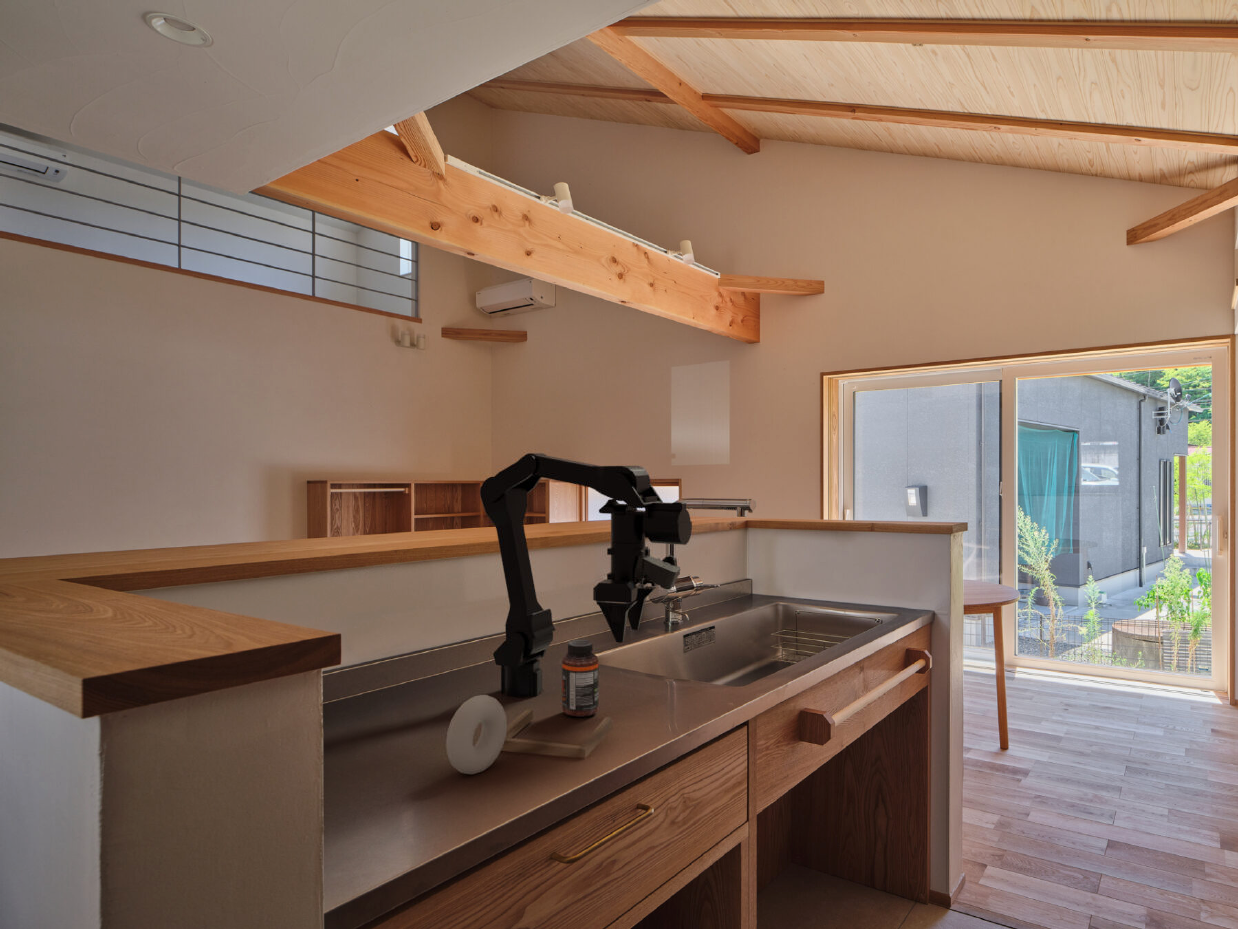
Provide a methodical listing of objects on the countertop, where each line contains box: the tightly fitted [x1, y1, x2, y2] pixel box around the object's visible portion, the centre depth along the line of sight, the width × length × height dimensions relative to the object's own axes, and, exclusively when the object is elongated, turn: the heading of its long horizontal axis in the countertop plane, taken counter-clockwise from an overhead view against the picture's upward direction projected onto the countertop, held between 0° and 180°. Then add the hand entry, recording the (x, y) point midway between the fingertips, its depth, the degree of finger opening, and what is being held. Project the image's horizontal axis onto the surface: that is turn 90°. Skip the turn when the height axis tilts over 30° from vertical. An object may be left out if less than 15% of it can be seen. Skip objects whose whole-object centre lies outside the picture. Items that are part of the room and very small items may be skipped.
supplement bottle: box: [561, 639, 600, 717], centre depth 121 cm, size 6×6×11 cm
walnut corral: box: [500, 708, 613, 759], centre depth 109 cm, size 14×13×2 cm
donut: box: [445, 694, 508, 776], centre depth 97 cm, size 10×4×10 cm, turn 148°
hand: (627, 635), depth 122 cm, fingers open, 9 cm apart
